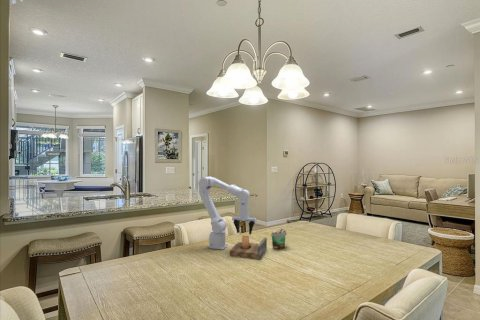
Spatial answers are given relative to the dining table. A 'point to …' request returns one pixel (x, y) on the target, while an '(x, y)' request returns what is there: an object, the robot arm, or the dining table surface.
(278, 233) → the food container
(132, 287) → the dining table surface
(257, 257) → the socket block
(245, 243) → the peg
